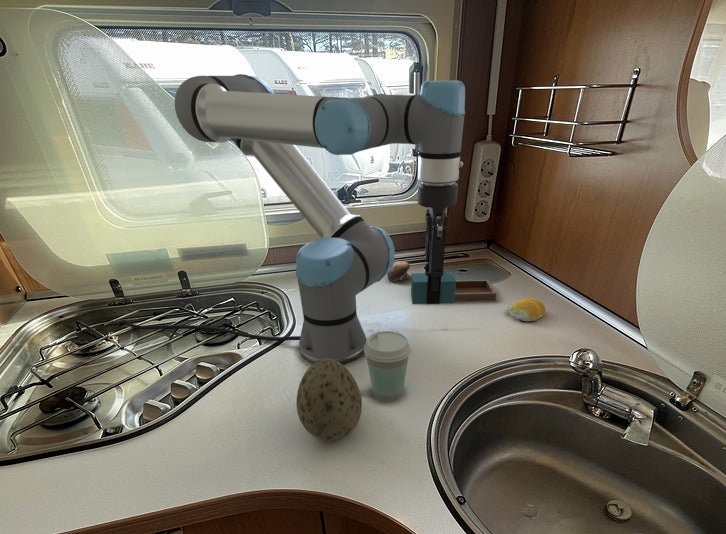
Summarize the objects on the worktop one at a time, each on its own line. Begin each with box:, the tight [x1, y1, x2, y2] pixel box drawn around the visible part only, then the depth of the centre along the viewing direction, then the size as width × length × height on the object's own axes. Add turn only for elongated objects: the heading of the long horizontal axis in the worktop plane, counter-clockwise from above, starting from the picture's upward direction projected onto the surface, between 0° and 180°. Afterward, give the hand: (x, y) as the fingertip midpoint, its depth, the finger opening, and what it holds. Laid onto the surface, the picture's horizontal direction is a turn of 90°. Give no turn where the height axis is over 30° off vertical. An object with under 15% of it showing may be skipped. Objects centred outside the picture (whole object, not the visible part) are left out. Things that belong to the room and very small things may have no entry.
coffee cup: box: [363, 330, 411, 403], centre depth 79 cm, size 8×8×12 cm
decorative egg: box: [295, 358, 363, 442], centre depth 70 cm, size 11×11×15 cm
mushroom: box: [386, 260, 411, 283], centre depth 128 cm, size 8×8×6 cm
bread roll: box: [508, 297, 547, 322], centre depth 108 cm, size 8×9×4 cm
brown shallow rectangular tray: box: [454, 279, 497, 302], centre depth 119 cm, size 22×10×2 cm, turn 91°
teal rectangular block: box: [410, 271, 456, 305], centre depth 91 cm, size 9×5×5 cm, turn 90°
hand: (431, 297), depth 92 cm, fingers closed on teal rectangular block, 5 cm apart
